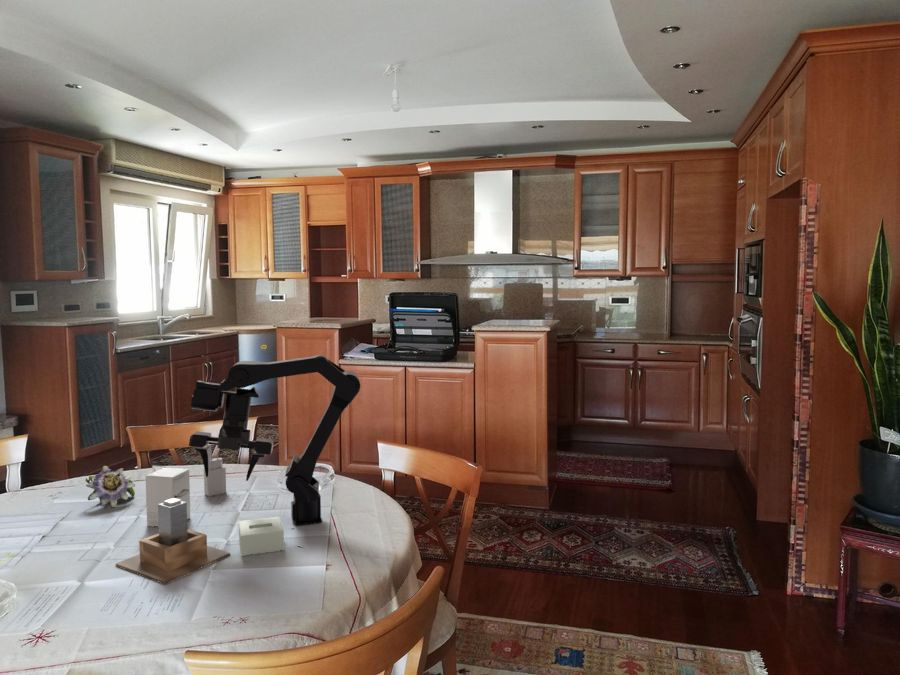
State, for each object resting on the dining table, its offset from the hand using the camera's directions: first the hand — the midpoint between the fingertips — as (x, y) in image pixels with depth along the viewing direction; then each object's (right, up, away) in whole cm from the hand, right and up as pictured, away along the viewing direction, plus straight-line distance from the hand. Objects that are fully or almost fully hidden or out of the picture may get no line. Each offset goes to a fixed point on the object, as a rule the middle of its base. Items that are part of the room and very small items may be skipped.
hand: (227, 478), depth 158 cm
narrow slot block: (+11, -13, -9) cm, 19 cm away
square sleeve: (-5, -14, -18) cm, 23 cm away
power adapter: (-12, -10, +26) cm, 30 cm away
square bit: (-5, -13, -18) cm, 23 cm away
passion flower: (-37, -10, +18) cm, 42 cm away
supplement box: (-16, -12, +4) cm, 20 cm away
